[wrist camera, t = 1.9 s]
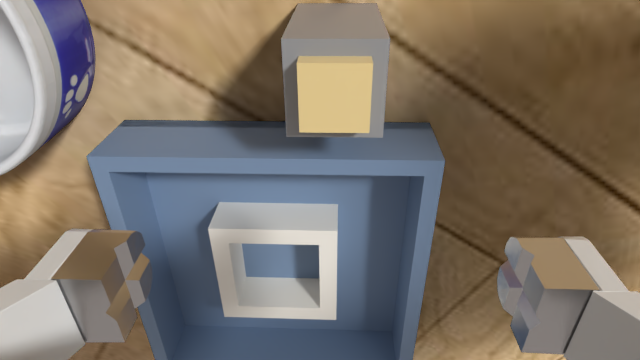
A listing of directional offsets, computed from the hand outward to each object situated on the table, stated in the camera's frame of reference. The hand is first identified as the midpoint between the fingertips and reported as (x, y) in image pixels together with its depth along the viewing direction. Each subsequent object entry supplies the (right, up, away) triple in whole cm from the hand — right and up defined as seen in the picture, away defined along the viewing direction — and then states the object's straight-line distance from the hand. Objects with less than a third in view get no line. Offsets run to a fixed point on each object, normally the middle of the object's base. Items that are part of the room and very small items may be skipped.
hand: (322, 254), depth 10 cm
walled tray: (-3, -3, +24) cm, 24 cm away
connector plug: (+1, +10, +16) cm, 18 cm away
